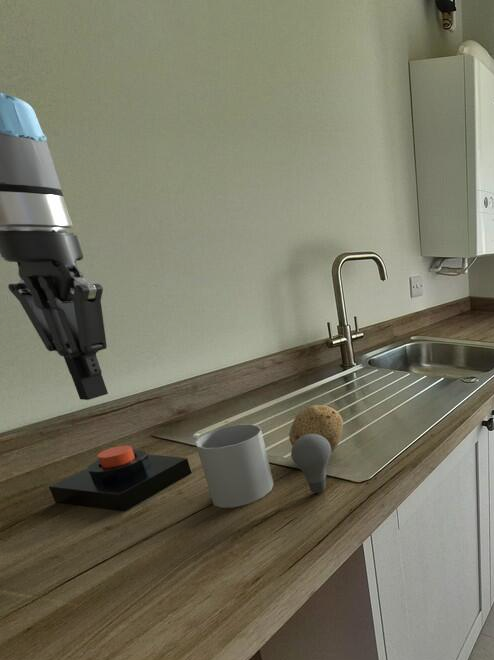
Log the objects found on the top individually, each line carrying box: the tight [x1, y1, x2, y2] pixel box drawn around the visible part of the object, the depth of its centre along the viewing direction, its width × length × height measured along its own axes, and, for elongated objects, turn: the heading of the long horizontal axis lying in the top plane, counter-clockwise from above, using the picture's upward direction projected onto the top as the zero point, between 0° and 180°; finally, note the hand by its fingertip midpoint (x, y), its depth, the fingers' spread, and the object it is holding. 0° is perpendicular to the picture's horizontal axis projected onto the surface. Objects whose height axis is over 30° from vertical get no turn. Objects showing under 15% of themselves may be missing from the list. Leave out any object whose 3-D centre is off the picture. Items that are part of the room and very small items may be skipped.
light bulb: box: [290, 434, 332, 494], centre depth 64 cm, size 6×6×10 cm
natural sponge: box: [288, 404, 344, 454], centre depth 75 cm, size 9×9×10 cm
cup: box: [195, 423, 275, 509], centre depth 64 cm, size 8×8×10 cm
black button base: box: [48, 449, 192, 513], centre depth 66 cm, size 13×11×5 cm
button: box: [97, 445, 135, 468], centre depth 65 cm, size 4×4×2 cm
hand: (94, 396), depth 62 cm, fingers closed
